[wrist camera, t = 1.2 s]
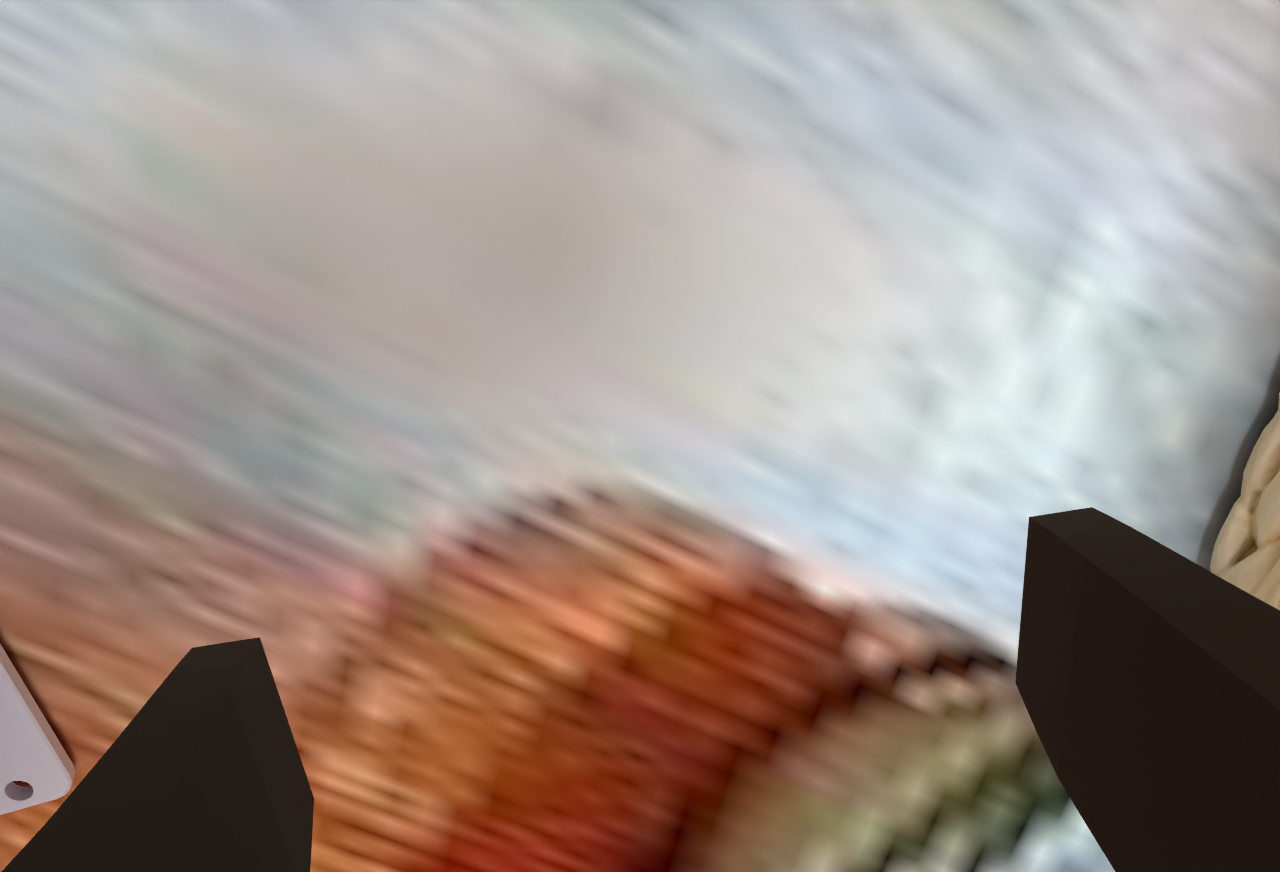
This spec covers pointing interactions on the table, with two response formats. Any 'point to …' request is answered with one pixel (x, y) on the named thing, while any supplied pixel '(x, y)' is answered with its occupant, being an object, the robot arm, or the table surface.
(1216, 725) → the robot arm
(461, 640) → the table surface
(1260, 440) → the storage basket
